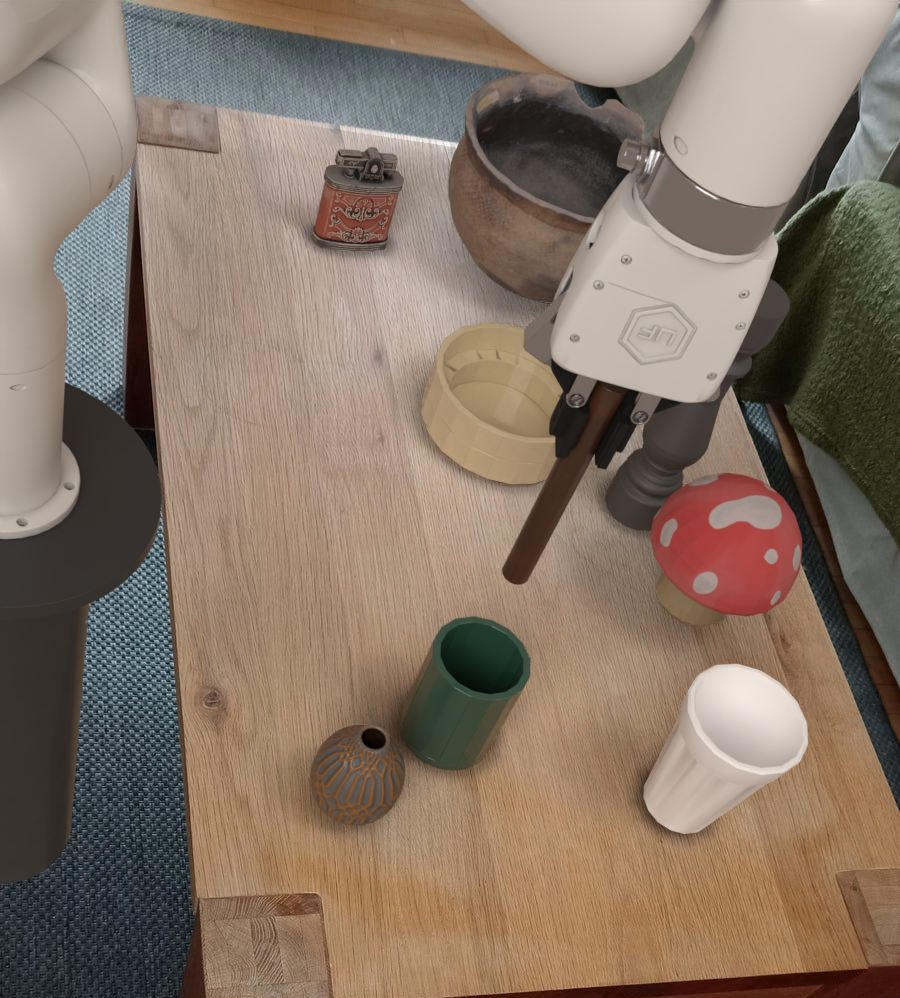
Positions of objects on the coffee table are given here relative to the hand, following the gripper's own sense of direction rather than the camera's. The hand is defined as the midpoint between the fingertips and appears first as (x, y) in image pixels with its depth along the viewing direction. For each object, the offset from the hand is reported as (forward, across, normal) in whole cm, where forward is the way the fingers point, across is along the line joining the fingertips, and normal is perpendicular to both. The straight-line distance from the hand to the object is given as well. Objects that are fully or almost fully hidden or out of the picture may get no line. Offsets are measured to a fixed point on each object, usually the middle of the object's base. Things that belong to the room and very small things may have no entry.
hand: (580, 446), depth 82 cm
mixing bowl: (+30, +4, +34) cm, 46 cm away
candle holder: (+30, +18, +28) cm, 45 cm away
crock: (+30, 0, -2) cm, 30 cm away
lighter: (+30, -12, +56) cm, 65 cm away
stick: (+13, 0, 0) cm, 13 cm away
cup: (+30, +20, -5) cm, 36 cm away
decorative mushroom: (+30, +22, +16) cm, 41 cm away
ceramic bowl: (+30, +6, +59) cm, 67 cm away
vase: (+30, -7, -10) cm, 33 cm away
